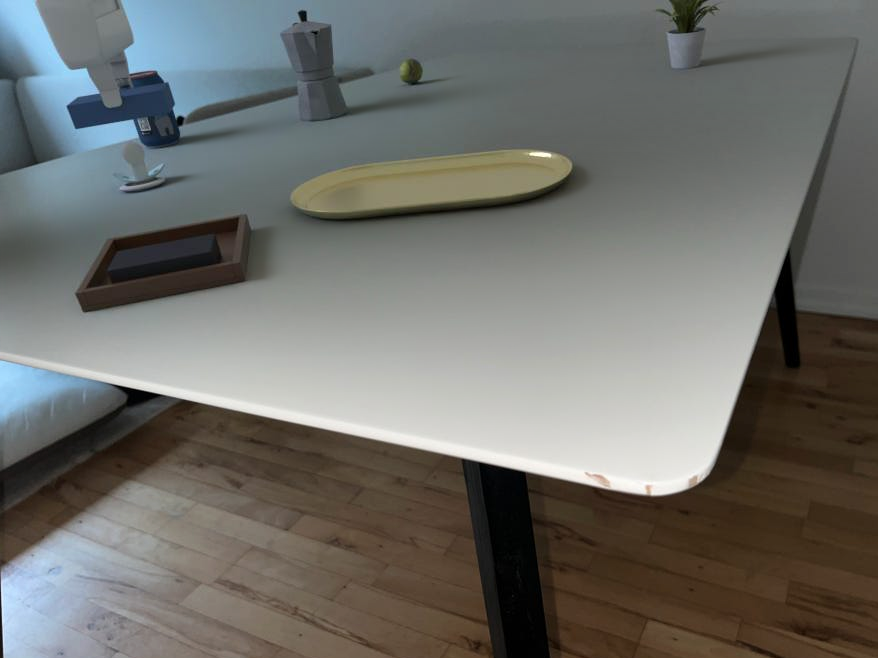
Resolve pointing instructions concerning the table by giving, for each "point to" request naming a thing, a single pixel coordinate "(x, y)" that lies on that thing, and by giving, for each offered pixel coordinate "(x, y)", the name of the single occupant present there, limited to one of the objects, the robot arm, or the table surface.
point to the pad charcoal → (164, 258)
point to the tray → (231, 269)
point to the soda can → (155, 117)
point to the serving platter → (432, 184)
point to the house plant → (686, 32)
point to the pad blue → (122, 106)
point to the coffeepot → (314, 69)
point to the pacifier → (137, 170)
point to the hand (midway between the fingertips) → (121, 100)
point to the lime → (410, 71)
